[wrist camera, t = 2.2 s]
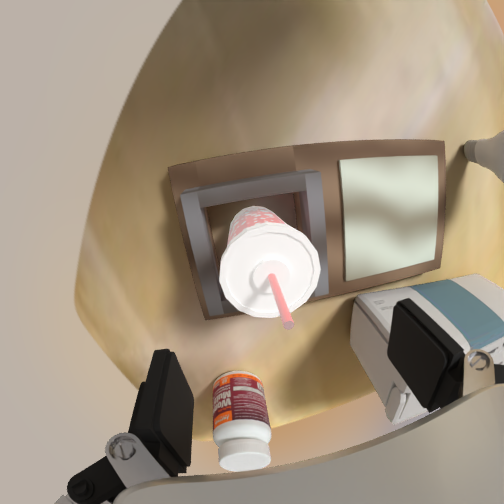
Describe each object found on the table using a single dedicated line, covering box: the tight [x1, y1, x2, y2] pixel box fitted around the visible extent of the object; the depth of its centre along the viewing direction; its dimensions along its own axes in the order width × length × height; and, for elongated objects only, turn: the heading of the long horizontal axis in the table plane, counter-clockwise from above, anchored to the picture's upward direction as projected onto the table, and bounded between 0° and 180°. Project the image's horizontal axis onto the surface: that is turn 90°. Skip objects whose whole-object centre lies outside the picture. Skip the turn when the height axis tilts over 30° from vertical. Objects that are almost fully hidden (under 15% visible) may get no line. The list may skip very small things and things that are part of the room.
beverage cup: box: [219, 206, 321, 329], centre depth 18 cm, size 6×6×14 cm
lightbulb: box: [464, 131, 504, 183], centre depth 18 cm, size 6×6×11 cm
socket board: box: [168, 139, 446, 320], centre depth 23 cm, size 14×26×4 cm, turn 99°
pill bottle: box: [213, 371, 271, 472], centre depth 26 cm, size 6×6×11 cm
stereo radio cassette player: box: [350, 274, 504, 425], centre depth 21 cm, size 21×8×20 cm, turn 92°
